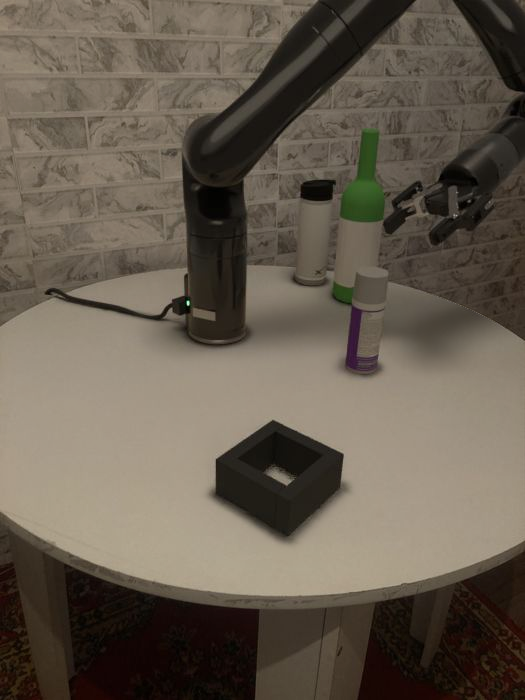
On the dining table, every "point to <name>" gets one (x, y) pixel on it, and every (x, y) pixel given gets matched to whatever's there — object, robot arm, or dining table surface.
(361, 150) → the wine bottle
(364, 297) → the container
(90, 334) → the dining table surface
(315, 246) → the travel mug
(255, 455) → the black square frame
